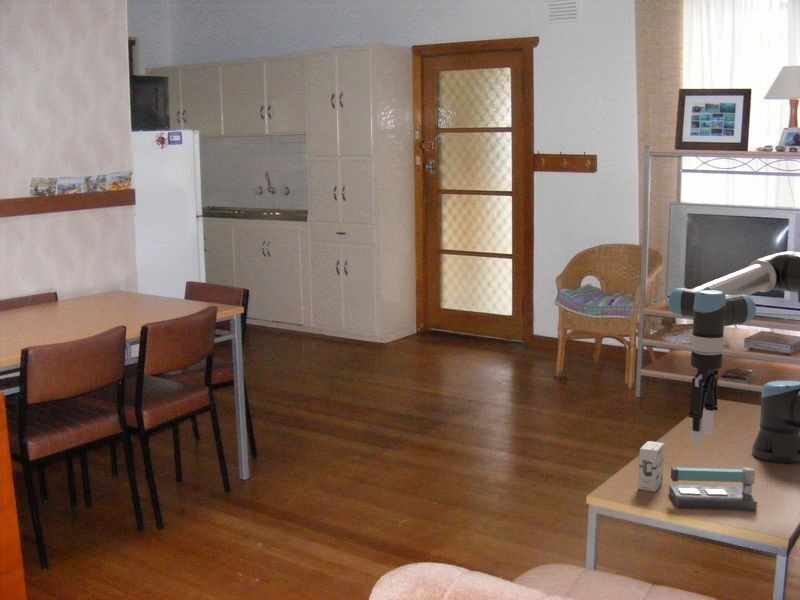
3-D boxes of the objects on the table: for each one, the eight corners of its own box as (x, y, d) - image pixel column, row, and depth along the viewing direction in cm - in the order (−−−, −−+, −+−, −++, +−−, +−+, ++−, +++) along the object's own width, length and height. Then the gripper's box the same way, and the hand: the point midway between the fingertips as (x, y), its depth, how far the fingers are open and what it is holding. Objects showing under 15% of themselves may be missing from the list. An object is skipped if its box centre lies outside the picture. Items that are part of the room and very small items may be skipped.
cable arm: (752, 480, 251) (753, 467, 250) (755, 484, 247) (756, 471, 247) (670, 478, 252) (671, 465, 252) (673, 482, 249) (673, 469, 248)
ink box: (645, 479, 267) (647, 439, 266) (663, 482, 265) (665, 442, 263) (637, 489, 260) (639, 448, 258) (655, 492, 258) (657, 450, 256)
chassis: (745, 495, 255) (746, 476, 255) (757, 511, 245) (758, 491, 244) (669, 493, 257) (670, 474, 256) (677, 508, 246) (678, 488, 245)
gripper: (705, 343, 249) (700, 426, 253) (678, 357, 232) (673, 446, 236) (733, 346, 245) (728, 431, 248) (708, 361, 228) (703, 451, 232)
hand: (701, 438), depth 242 cm, fingers open, 8 cm apart
